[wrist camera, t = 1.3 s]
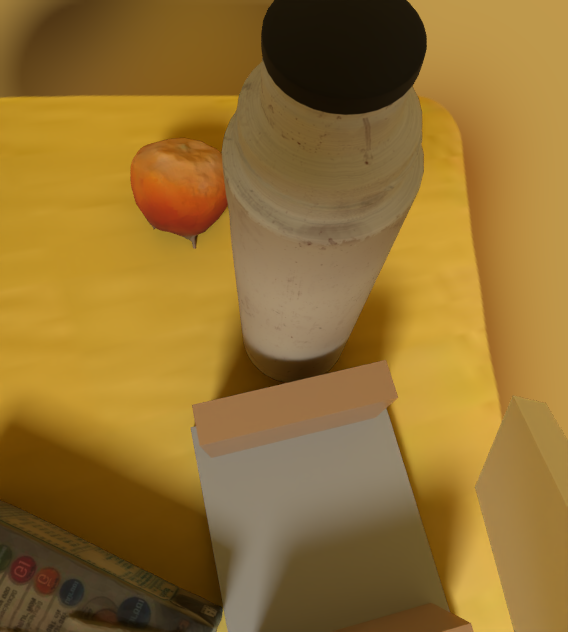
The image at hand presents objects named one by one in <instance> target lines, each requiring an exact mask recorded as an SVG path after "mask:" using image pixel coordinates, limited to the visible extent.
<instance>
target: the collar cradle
mask: <svg viewBox="0 0 568 632" xmlns="http://www.w3.org/2000/svg"><path fill="white" fill-rule="evenodd" d="M397 398H398V396H397V392H396V389H395V386H394V383H393V380H392V377H391V374H390V371H389V368H388V365H387V361H386V360H383V361H379V362H375V363H371V364H366V365H362V366H358V367H353V368H349V369H345V370H341V371H336V372H332V373H328V374H323V375H319V376H315V377H310V378H306V379H302V380H298V381H293V382H289V383H285V384H280V385H276V386H272V387H268V388H263V389H259V390H255V391H250V392H246V393H242V394H237V395H233V396H229V397H225V398H220V399H216V400H212V401H207V402H203V403H199V404H195V405H192V407H193V413H194V418H195V424H196V426H195V427H191V432H192V438H193V443H194V449H195V454H196V460H197V465H198V471H199V476H200V481H201V487H202V492H203V498H204V503H205V509H206V514H207V520H208V525H209V531H210V536H211V542H212V547H213V553H214V558H215V564H216V569H217V574H218V580H219V585H220V591H221V596H222V602H223V607H224V613H225V618H226V624H227V629H228V632H473V629H472V626H471V623H469V622H468V621H466V620H464V619H462V618H460V617H458V616H456V615H454V614H452V613H450V610H449V607H448V604H447V601H446V598H445V594H444V591H443V588H442V585H441V582H440V578H439V575H438V572H437V569H436V565H435V562H434V559H433V556H432V553H431V549H430V546H429V543H428V540H427V537H426V533H425V530H424V527H423V524H422V521H421V517H420V514H419V511H418V508H417V505H416V501H415V498H414V495H413V492H412V489H411V485H410V482H409V479H408V476H407V473H406V469H405V466H404V463H403V460H402V457H401V453H400V450H399V447H398V444H397V440H396V437H395V434H394V431H393V428H392V424H391V421H390V418H389V415H388V412H387V407H388V406H389V405H390V404H391V403H393V402H394V401H395V400H396V399H397Z"/></svg>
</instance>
